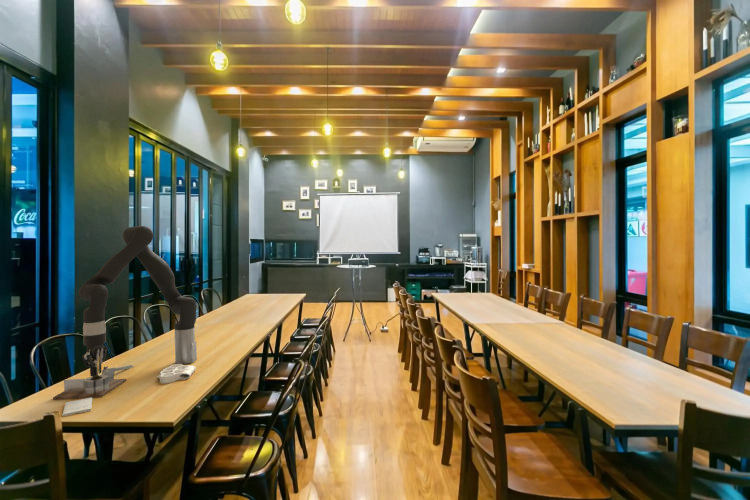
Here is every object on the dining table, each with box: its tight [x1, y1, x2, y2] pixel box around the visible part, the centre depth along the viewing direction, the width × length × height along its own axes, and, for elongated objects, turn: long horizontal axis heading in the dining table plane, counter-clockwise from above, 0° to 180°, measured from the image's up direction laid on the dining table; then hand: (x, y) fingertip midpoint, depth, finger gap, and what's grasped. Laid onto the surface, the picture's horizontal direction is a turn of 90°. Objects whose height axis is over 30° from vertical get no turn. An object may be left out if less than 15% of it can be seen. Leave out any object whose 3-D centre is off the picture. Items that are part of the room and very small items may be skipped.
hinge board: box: [52, 378, 127, 401], centre depth 161 cm, size 18×18×1 cm
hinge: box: [63, 369, 115, 394], centre depth 160 cm, size 16×16×5 cm
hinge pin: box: [91, 357, 101, 380], centre depth 157 cm, size 2×2×12 cm
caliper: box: [101, 364, 134, 375], centre depth 181 cm, size 20×1×6 cm, turn 179°
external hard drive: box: [61, 397, 93, 417], centre depth 143 cm, size 2×8×12 cm
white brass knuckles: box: [156, 363, 196, 384], centre depth 176 cm, size 3×18×15 cm
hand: (96, 374), depth 157 cm, fingers closed on hinge pin, 2 cm apart
